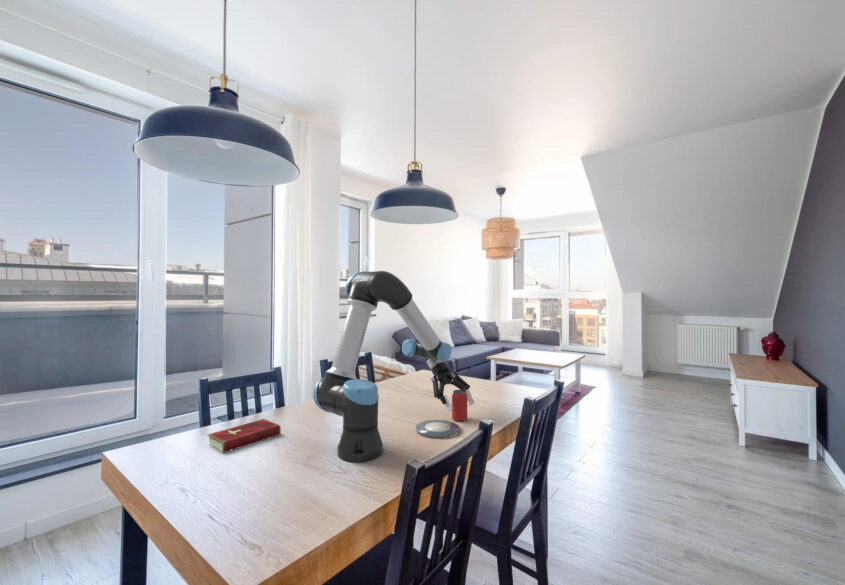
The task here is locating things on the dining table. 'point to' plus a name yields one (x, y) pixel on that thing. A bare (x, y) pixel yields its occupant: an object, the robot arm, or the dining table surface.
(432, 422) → the plate
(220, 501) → the dining table surface
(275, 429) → the hardcover book
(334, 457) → the dining table surface
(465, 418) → the beer can
